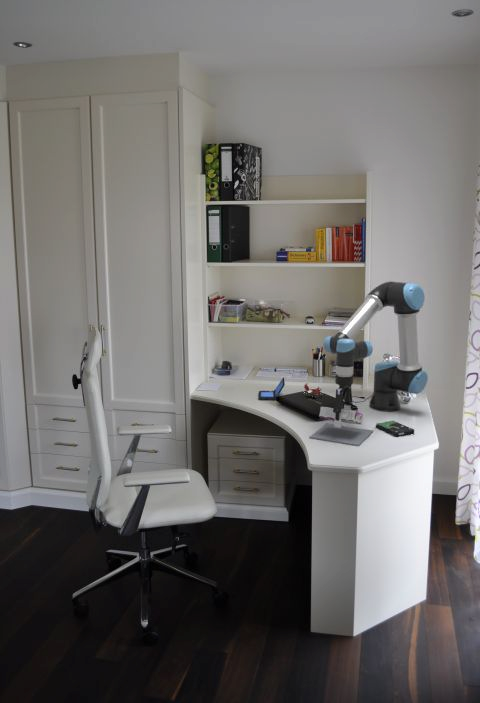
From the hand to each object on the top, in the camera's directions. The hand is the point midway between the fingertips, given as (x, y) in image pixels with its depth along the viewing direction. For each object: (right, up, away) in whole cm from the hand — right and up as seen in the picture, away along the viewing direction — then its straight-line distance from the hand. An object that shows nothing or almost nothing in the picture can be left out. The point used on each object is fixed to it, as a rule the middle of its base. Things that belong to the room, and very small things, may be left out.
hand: (342, 423), depth 294 cm
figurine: (-6, +7, +61) cm, 62 cm away
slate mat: (0, -5, +1) cm, 5 cm away
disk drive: (+25, -5, +7) cm, 26 cm away
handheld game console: (-28, +7, +62) cm, 69 cm away
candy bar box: (-8, +4, +3) cm, 10 cm away
